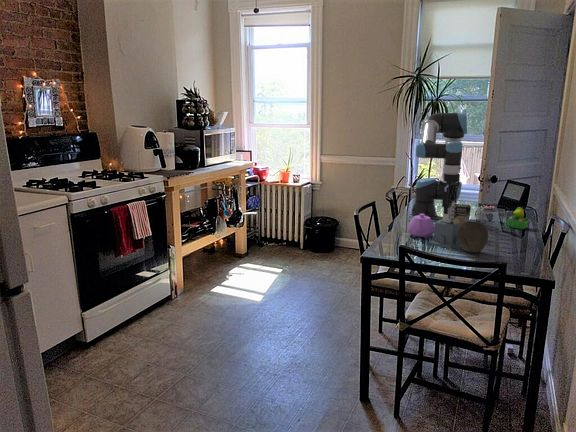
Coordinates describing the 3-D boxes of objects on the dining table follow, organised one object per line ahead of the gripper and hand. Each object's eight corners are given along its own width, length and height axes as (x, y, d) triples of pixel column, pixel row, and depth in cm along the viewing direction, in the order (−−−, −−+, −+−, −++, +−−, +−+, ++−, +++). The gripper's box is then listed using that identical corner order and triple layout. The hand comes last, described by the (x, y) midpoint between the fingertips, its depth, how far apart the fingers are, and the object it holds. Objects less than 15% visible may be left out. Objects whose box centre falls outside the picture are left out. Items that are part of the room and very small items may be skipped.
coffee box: (449, 234, 249) (452, 206, 245) (450, 231, 255) (452, 203, 251) (468, 236, 246) (470, 207, 242) (467, 233, 252) (470, 204, 248)
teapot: (432, 242, 235) (434, 220, 232) (404, 240, 240) (405, 217, 237) (435, 232, 254) (437, 211, 250) (409, 230, 259) (410, 209, 256)
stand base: (428, 244, 234) (430, 219, 230) (441, 237, 245) (442, 213, 242) (451, 248, 226) (453, 223, 223) (463, 241, 238) (465, 217, 234)
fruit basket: (503, 226, 264) (505, 207, 262) (508, 223, 271) (510, 205, 268) (524, 230, 257) (527, 210, 254) (529, 227, 263) (532, 208, 260)
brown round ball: (492, 256, 215) (496, 225, 212) (463, 257, 214) (466, 226, 211) (478, 246, 229) (481, 217, 225) (450, 247, 228) (453, 218, 224)
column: (440, 240, 235) (444, 200, 230) (443, 238, 238) (447, 198, 233) (450, 241, 232) (453, 201, 227) (453, 240, 235) (456, 200, 230)
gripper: (452, 176, 218) (448, 223, 223) (466, 171, 231) (462, 216, 237) (437, 174, 222) (433, 221, 228) (451, 170, 236) (447, 214, 241)
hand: (448, 218), depth 232 cm, fingers open, 5 cm apart
